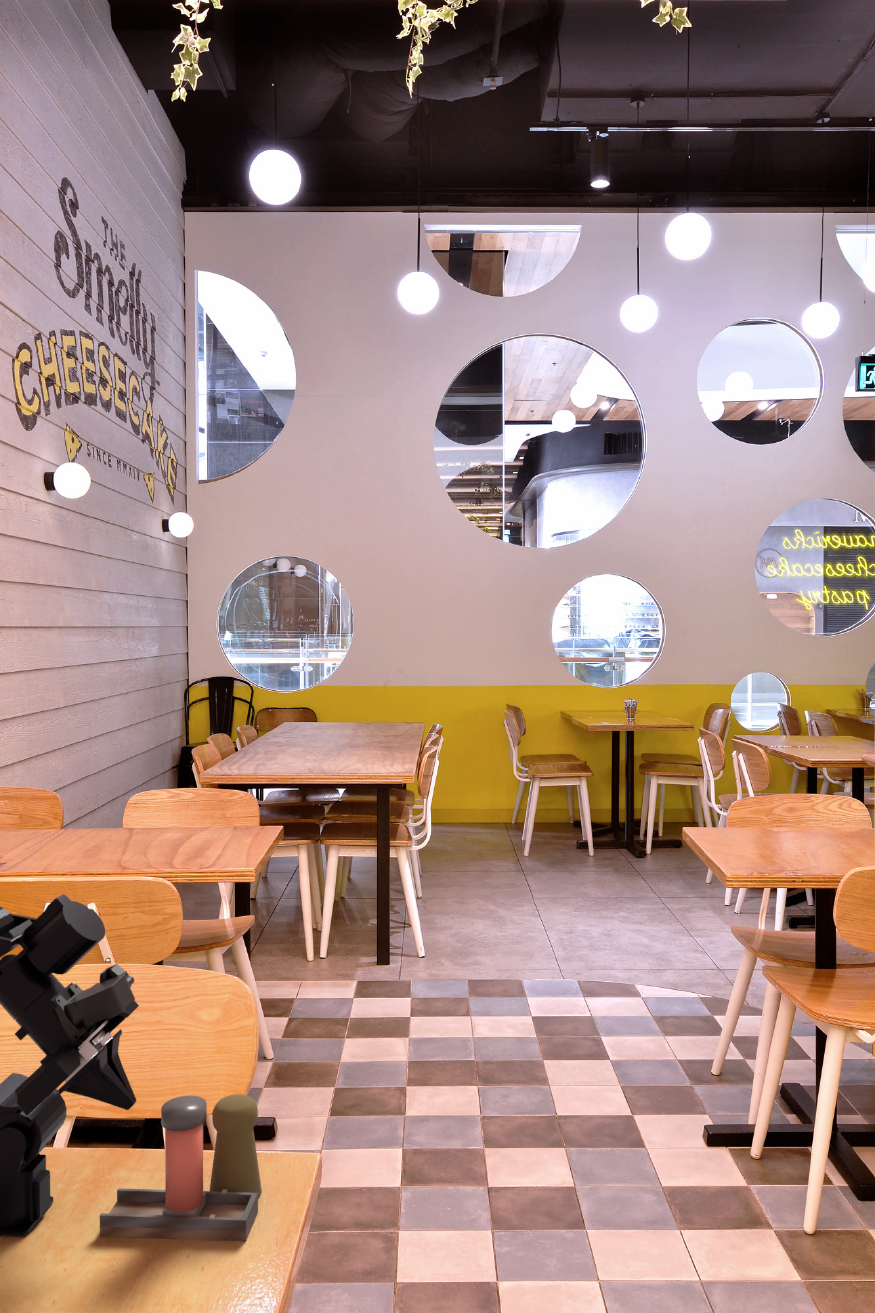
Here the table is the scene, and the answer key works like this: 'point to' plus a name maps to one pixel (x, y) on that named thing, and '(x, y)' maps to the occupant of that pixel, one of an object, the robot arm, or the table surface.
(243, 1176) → the olive rounded upright piece
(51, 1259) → the table surface
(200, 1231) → the track
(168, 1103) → the plug
